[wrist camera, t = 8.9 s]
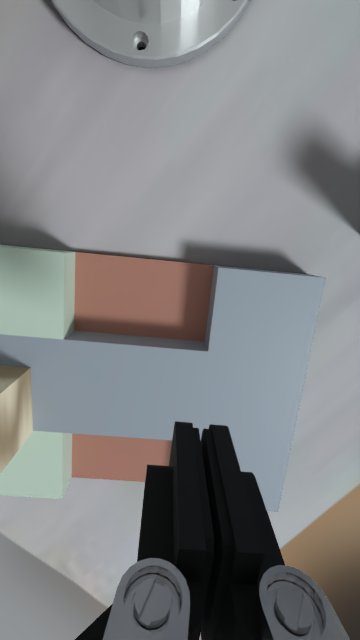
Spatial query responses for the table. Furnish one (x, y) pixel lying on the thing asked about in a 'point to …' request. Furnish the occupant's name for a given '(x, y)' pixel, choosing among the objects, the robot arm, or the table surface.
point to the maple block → (14, 411)
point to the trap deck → (151, 363)
